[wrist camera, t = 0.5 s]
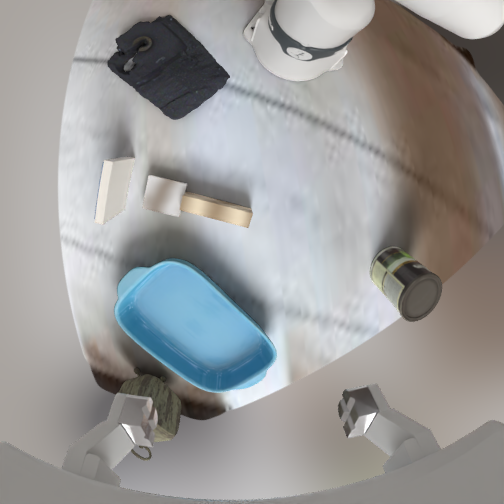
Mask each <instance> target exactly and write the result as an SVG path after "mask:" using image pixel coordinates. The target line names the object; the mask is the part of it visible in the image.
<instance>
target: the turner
mask: <svg viewBox="0 0 504 504" xmlns="http://www.w3.org/2000/svg"><path fill="white" fill-rule="evenodd" d="M186 188H187V183H183V182H179V181H175V180H171V179H167V178H162V177H158V176H154V175H149V176H148V181H147V186H146V190H145V195H144V201H143V206H142V208H144V209H148V210H152V211H156V212H160V213H164V214H168V215H172V216H176V217H180V213H181V211H185V212H189V213H193V214H197V215H200V216H204V217H208V218H212V219H216V220H220V221H224V222H227V223H231V224H235V225H239V226H242V227H246V228H248V227H249V224H250V221H251V218H252V214H253V213H252V209H251V208H247V207H244V206H240V205H236V204H233V203H229V202H225V201H221V200H218V199H214V198H210V197H206V196H202V195H198V194H194V193H190V192H186ZM185 192H186V193H185Z"/></svg>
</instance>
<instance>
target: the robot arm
mask: <svg viewBox="0 0 504 504" xmlns="http://www.w3.org/2000/svg"><path fill="white" fill-rule="evenodd" d="M395 1H397V2H399V3H400V4H402V5H404V6H405V7H407V8H409V9H410V10H412V11H413V12H415V13H417V14H418V15H420V16H422V17H424V18H426V19H428V20H430V21H432V22H434V23H436V24H438V25H440V26H441V27H443V28H445V29H447V30H449V31H451V32H453V33H455V34H457V35H459V36H460V37H463V38H468V39H478V38H484V37H487V36H490V35H492V34H494V33H495V32H497V31H498V30H499V29H500V28H501V26H502V25H503V24H504V0H395ZM374 12H375V2H374V0H265V3H264V5H263V6H262V7H261V8H260V10H259V11H258V12H257V14H256V15H255V16H254V17H253V19H252V20H251V21H250V23H249V24H248V25H247V27H246V28H245V30H244V32H243V36H244V37H245V39H246V40H247V41H248V42H249V43H250V44H251V45H252V46H253V48H254V51H255V54H256V56H257V58H258V60H259V61H260V63H261V64H262V65H263V66H264V67H265V68H266V69H267V70H268V71H270V72H271V73H273V74H274V75H276V76H278V77H280V78H283V79H287V80H291V81H307V80H311V79H314V78H316V77H318V76H320V75H321V74H323V73H325V72H327V71H334V70H339V69H340V68H341V67H342V66H343V58H344V56H345V55H346V54H347V52H348V51H347V50H346V48H347V45H348V44H349V42H350V41H351V40H352V38H353V36H354V35H355V34H357V33H358V32H359V31H360V30H362V29H363V28H364V27H366V26H367V25H368V24H369V23H370V21H371V20H372V18H373V15H374ZM251 28H255V29H254V30H252V29H251ZM342 395H343V399H342V400H340V402H339V405H338V412H339V417H340V419H341V420H342V421H344V422H345V424H344V426H343V428H344V431H345V434H346V436H347V438H351V437H356V436H360V435H364V436H366V437H367V438H368V439H369V440H370V441H372V442H373V443H374V444H375V445H377V446H378V447H379V448H380V449H382V450H383V451H384V452H385V453H386V454H388V455H389V456H390V458H389V459H388V460H387V461H386V463H385V464H384V465H383V468H384V471H385V474H382V475H379V476H376V477H373V478H370V479H366V480H363V481H360V482H356V483H353V484H349V485H345V486H341V487H337V488H332V489H328V490H323V491H318V492H312V493H307V494H300V495H295V496H286V497H277V498H266V499H251V500H206V499H191V498H180V497H172V496H164V495H157V494H151V493H145V492H140V491H135V490H130V489H125V488H121V487H120V482H121V479H120V478H119V476H117V475H116V474H115V473H114V472H113V471H112V469H113V468H114V467H115V466H116V465H117V464H118V463H119V462H120V461H121V460H122V459H123V458H124V457H125V455H127V454H128V453H129V452H130V451H131V450H132V448H133V447H134V446H135V445H139V446H147V447H153V444H154V439H155V434H154V432H153V430H154V429H155V428H156V427H157V422H158V415H157V411H156V408H155V407H153V406H152V404H153V401H152V399H151V397H143V396H136V395H129V394H122V393H117V394H116V395H115V398H114V401H113V404H112V406H111V409H110V412H109V415H108V418H107V421H102V422H101V423H100V424H98V425H97V426H96V427H95V428H93V429H92V430H91V431H89V432H88V433H87V434H85V435H84V436H83V437H81V438H80V439H78V440H77V441H76V442H74V443H73V444H72V445H70V446H69V449H68V451H67V454H66V457H65V460H64V463H63V466H62V469H61V468H59V467H56V466H54V465H52V464H49V463H47V462H45V461H42V460H40V459H38V458H36V457H34V456H32V455H30V454H28V453H26V452H24V451H22V450H20V449H18V448H17V447H14V446H13V445H11V444H9V443H7V442H0V504H504V424H503V423H501V422H499V421H495V420H490V421H488V422H486V423H485V424H483V425H482V426H480V427H479V428H477V429H476V430H474V431H473V432H471V433H469V434H468V435H466V436H464V437H463V438H461V439H459V440H458V441H456V442H454V443H452V444H450V445H449V446H447V447H445V448H443V449H441V448H440V446H439V445H438V443H437V441H436V439H435V437H434V435H433V434H432V432H431V430H430V429H428V428H427V427H425V426H423V425H421V424H419V423H418V422H416V421H414V420H412V419H411V418H409V417H407V416H406V415H404V414H402V413H400V412H399V411H397V410H395V409H391V408H390V406H389V405H388V403H387V401H386V399H385V397H384V395H383V393H382V391H381V389H380V388H379V386H378V384H371V385H367V386H360V387H356V388H351V389H346V390H344V392H343V394H342Z"/></svg>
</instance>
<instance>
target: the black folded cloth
mask: <svg viewBox="0 0 504 504" xmlns="http://www.w3.org/2000/svg"><path fill="white" fill-rule="evenodd" d="M116 43H117V45H118V46H117V49H118V51H119V52H116V53H115V54H114V55H113V56H112V57H111V58H110V60H108V67H109V68H110V69H111V71H112V72H114V73H115V74H117V75H118V76H119V77H120V78H121V79H123V80H124V81H125V82H127V83H128V84H129V85H130V86H133V88H135V90H136V91H137V92H139V94H140V95H141V96H143V97H144V98H146V99H148V100H149V101H150V102H151V103H153V104H154V105H155V106H156V107H158V108H159V109H160V110H161V111H162V112H163V113H164V114H165V115H166V116H168V117H170V118H171V119H174V120H176V119H180V118H182V117H184V116H186V115H187V114H188V113H190V112H191V111H192V110H194V109H196V108H198V107H199V106H200V105H201V104H202V103H203V102H204V101H206V100H207V99H209V98H210V97H212V96H213V95H214V94H215V93H216V92H217V90H218V89H221V88H222V87H223V86H224V85H225V84H226V81H227V79H228V78H230V76H229V75H228V73H227V72H226V71H225V69H224V68H223V67H222V66H220V65H219V64H218V63H217V62H216V60H215V59H214V58H213V56H212V55H211V54H209V52H208V51H207V50H206V49H205V47H204V46H203V45H202V44H201V43H200V42H199V41H198V40H196V39H195V37H193V36H192V35H191V33H189V32H188V31H187V30H186V29H185V28H184V27H183V26H182V25H181V24H179V23H178V21H177V20H176V19H174V18H173V17H172V16H171V15H168V16H166V17H163V18H162V17H160V16H159V17H158V18H157V19H156V20H154V21H153V22H152V23H150V22H139V23H137V24H135V25H134V26H133V27H132V28H131V29H130V30H129V31H127V32H126V33H125V34H123V35H121V36H120V37H118V38H116ZM136 53H137V54H136ZM135 54H136V55H135ZM134 56H135V57H134ZM133 57H134V58H133ZM131 58H133V60H132V61H133V62H135V63H136V64H135V65H134V66H133V68H132V69H131V70H130V71H128V72H125V71H124V65H125V63H126V62H128V60H129V59H131Z"/></svg>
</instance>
